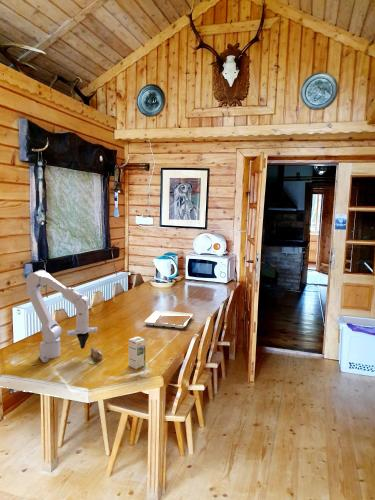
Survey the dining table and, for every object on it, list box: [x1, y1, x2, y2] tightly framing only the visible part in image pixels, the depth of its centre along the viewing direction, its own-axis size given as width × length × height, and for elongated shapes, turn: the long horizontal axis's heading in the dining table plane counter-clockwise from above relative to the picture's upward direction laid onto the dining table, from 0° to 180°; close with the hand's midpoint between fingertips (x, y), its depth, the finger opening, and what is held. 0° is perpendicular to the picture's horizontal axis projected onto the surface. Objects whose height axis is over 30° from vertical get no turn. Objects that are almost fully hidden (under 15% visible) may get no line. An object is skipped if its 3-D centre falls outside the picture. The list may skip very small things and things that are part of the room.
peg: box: [90, 346, 103, 362], centre depth 181 cm, size 4×12×5 cm, turn 36°
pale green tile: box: [87, 360, 96, 365], centre depth 176 cm, size 2×3×1 cm
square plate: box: [143, 310, 194, 329], centre depth 247 cm, size 27×27×4 cm
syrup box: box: [128, 336, 147, 370], centre depth 175 cm, size 6×6×14 cm
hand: (82, 347), depth 181 cm, fingers closed
